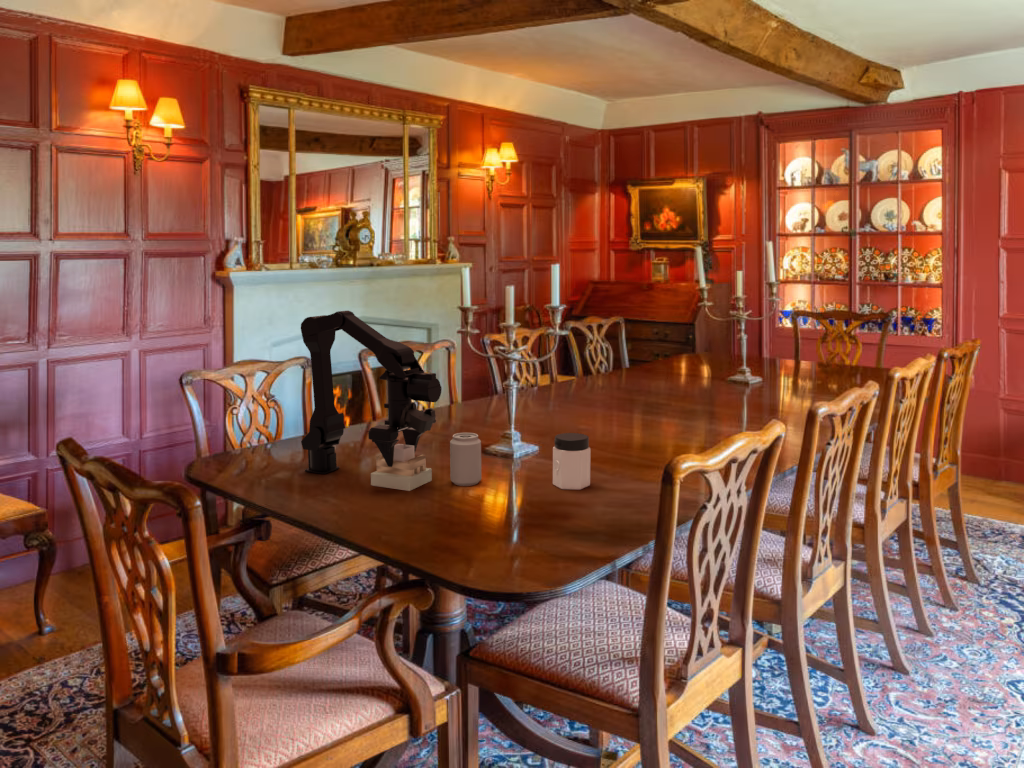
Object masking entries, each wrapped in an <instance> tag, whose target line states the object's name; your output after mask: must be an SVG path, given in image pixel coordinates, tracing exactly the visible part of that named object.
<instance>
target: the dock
mask: <svg viewBox="0 0 1024 768" xmlns="http://www.w3.org/2000/svg"><path fill="white" fill-rule="evenodd" d="M432 471H433V470H432V468H431V467H426V470H425V471H420V473H418V474H415V473H414V476H404V475H397V474H390V473H383V472H377V470H375V471H373V472H370V486H373V487H380V488H385V489H386V488H387V489H395V490H402V491H407V492H410V491H412V490H415V489H416V488H419V487H421V486H422V485H425V484H427V483H430V482H432V480H433V472H432Z"/></svg>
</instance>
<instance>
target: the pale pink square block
mask: <svg viewBox="0 0 1024 768" xmlns="http://www.w3.org/2000/svg"><path fill="white" fill-rule="evenodd" d="M415 457H416V451H414V446H413V445H406V444H405V443H404V444H403V443H396V444H395V446H394V459H393V461H401V462H405V461H408V460H410V459H412V458H415Z"/></svg>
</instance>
